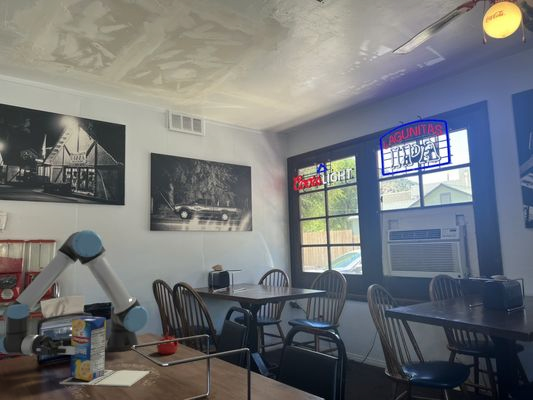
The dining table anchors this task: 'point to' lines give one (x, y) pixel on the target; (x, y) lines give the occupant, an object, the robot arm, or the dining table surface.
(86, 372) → the blue cardboard box
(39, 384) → the dining table surface
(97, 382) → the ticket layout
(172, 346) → the pomegranate
